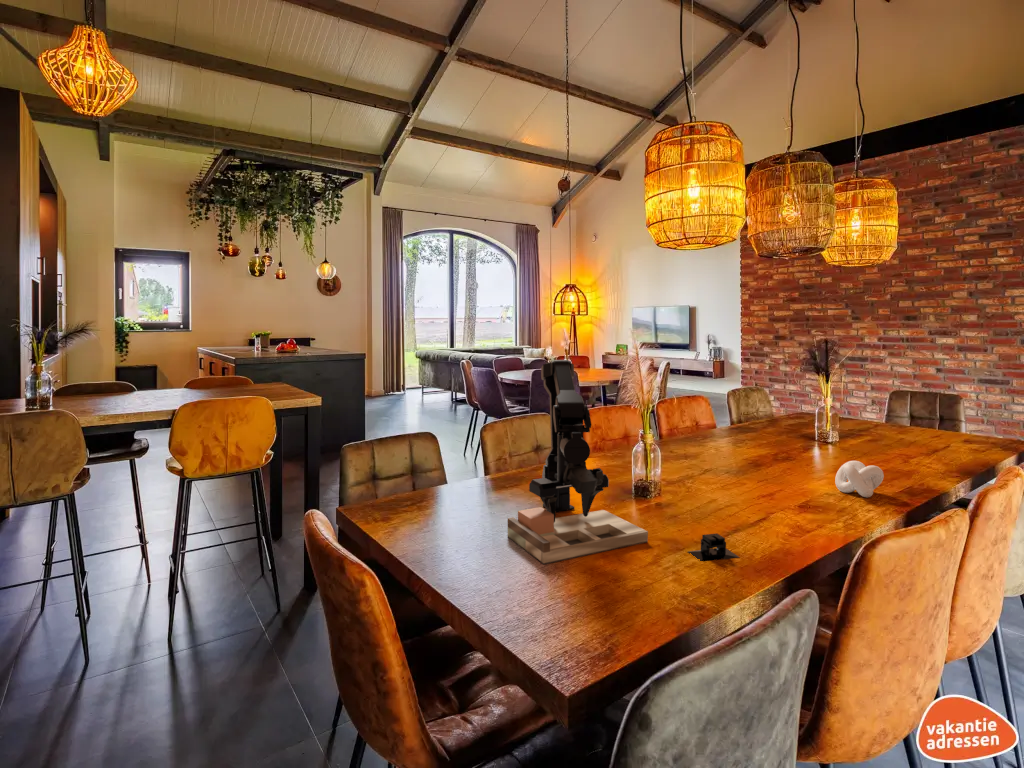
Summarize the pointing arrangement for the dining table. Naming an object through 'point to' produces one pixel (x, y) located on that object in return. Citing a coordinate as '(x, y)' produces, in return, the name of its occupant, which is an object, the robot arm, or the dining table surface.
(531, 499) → the dining table surface
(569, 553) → the trap board
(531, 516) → the terracotta block
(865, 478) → the white knot sculpture
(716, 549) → the black boxy piece
